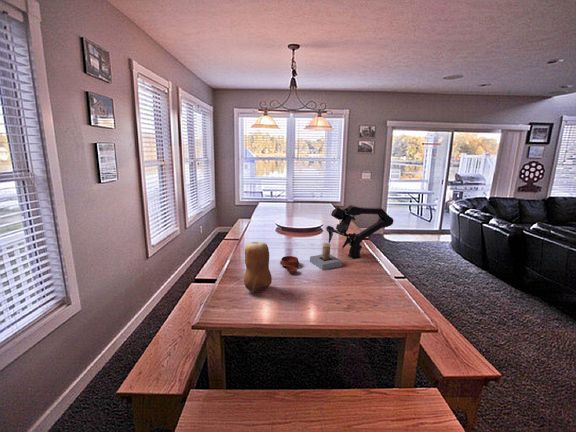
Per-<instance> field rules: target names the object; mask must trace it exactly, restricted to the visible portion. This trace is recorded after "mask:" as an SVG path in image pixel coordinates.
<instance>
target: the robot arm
mask: <svg viewBox="0 0 576 432" xmlns="http://www.w3.org/2000/svg"><path fill="white" fill-rule="evenodd" d="M330 214H331V217H333V218H335V219H337V220H338V221H340V222H339V223H337V224H336V227H335V228H334V226H332V225H327V226H326V227H325V230H326V231H327V233H328V244H330V243H331V241H332V238H333V237H334V236H333V235H334V234H338V235H341V236H343V237H346V239H345V240H344V243H343V245H342V248H341V249H344V248H345V247H346V246H347V245H349V251H348V254H347V257H349V258H352V259H353V260H354V259H360V258H362V256H361V250H362V248H363V246H362V244H361V243H362V241H363V240H365V239H367V238H368V237H369V236H372V234H374V233H376V232H377V231H379V230H381V229H384V228H389V227H390V226H392V225H393V224H394V218H393V217H391V216H390V215H389V214H388V213H387V212H386V211H385V209H383V208H381V207H366V206H365V207H363V206H362V207H361V206H357V205H353V204H350V205H348V207H345V208H343V209H341V208H340V207H338V206H336V207H335V208H334V209H333V210H332V211H331V213H330ZM360 215H377V216H378V217H379V218H378V220H377V221H376V222H375V223H373V224H371V225H370V226H369V227H366V228H365V229H364V230H362V231H360V232H359V233H356V232H353V233H350V232H349V233H347V232H348V230H349V228H350V225H351V223H352V221H356V218H355V216H360Z"/></svg>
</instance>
